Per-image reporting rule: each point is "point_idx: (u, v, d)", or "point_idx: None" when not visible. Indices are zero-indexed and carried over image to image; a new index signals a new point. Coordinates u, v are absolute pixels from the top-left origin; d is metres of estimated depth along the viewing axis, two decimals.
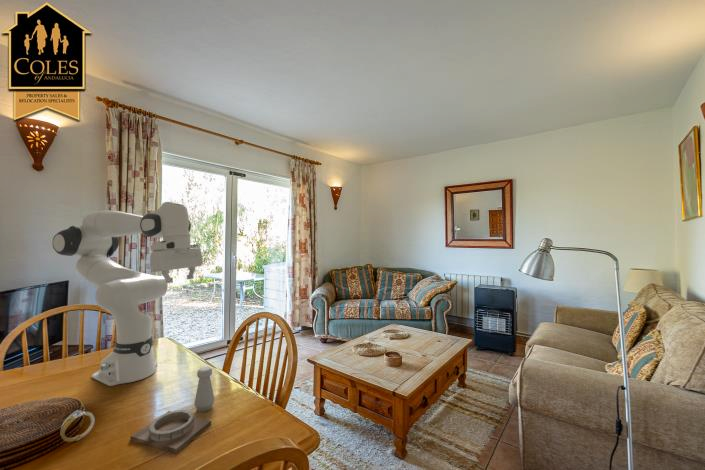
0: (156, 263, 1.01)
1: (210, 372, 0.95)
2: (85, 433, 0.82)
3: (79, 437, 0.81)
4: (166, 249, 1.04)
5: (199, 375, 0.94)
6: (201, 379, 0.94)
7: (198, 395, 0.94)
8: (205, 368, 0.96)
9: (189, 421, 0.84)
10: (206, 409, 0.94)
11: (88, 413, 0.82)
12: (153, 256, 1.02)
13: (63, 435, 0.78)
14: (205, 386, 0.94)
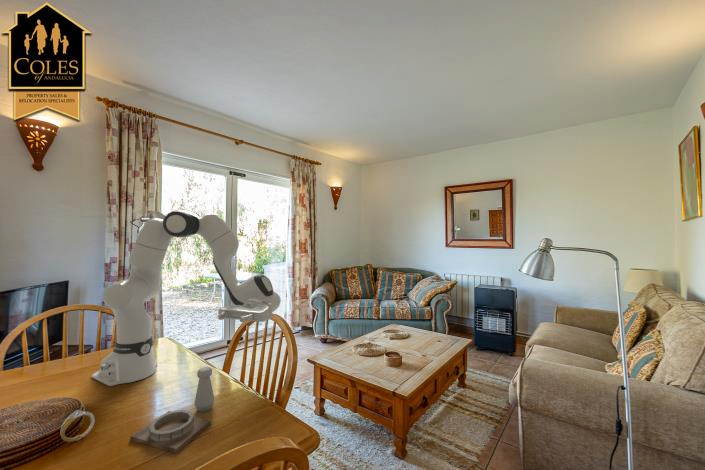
0: (265, 318, 1.11)
1: (210, 372, 0.95)
2: (85, 433, 0.82)
3: (79, 437, 0.81)
4: None
5: (199, 375, 0.94)
6: (201, 379, 0.94)
7: (198, 395, 0.94)
8: (205, 368, 0.96)
9: (189, 421, 0.84)
10: (206, 409, 0.94)
11: (88, 413, 0.82)
12: (269, 312, 1.14)
13: (63, 435, 0.78)
14: (205, 386, 0.94)
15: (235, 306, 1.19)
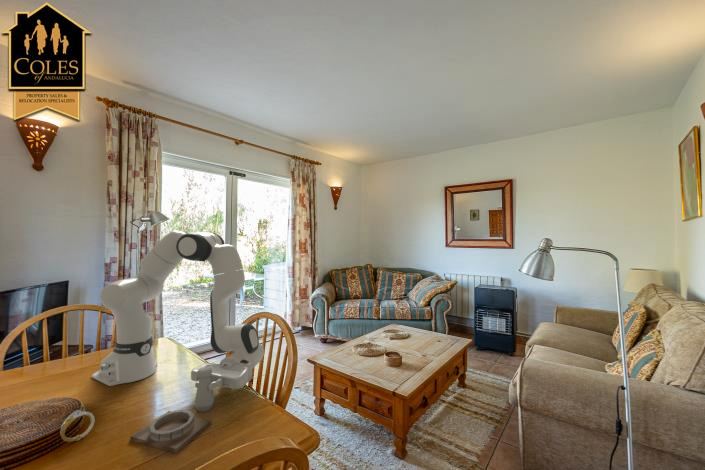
0: (243, 384, 0.99)
1: (210, 372, 0.95)
2: (85, 433, 0.82)
3: (79, 437, 0.81)
4: None
5: (199, 375, 0.94)
6: (201, 379, 0.94)
7: (198, 395, 0.94)
8: (205, 368, 0.96)
9: (189, 421, 0.84)
10: (206, 409, 0.94)
11: (88, 413, 0.82)
12: (247, 374, 1.02)
13: (63, 435, 0.78)
14: (205, 386, 0.94)
15: (211, 365, 1.06)
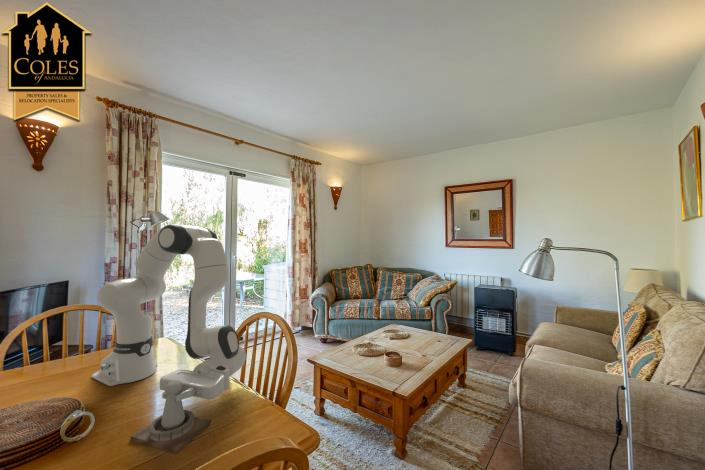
0: (218, 393, 0.88)
1: (179, 386, 0.84)
2: (85, 433, 0.82)
3: (79, 437, 0.81)
4: None
5: (166, 390, 0.82)
6: (169, 394, 0.83)
7: (165, 413, 0.82)
8: (174, 382, 0.84)
9: (189, 421, 0.84)
10: None
11: (88, 413, 0.82)
12: (223, 383, 0.90)
13: (63, 435, 0.78)
14: (174, 403, 0.83)
15: (183, 372, 0.95)
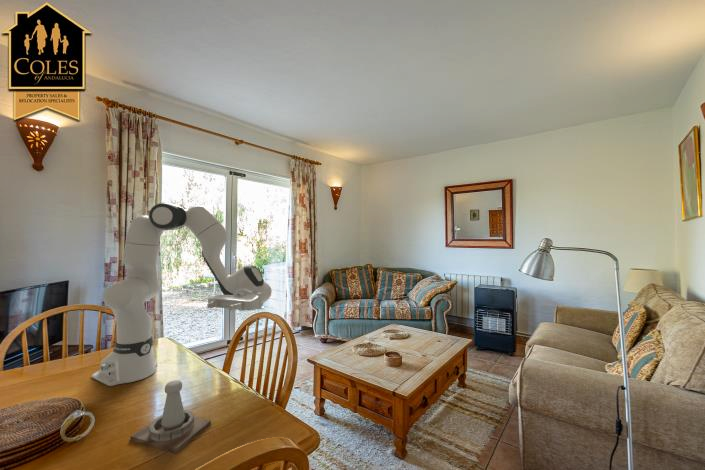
0: (255, 307, 1.12)
1: (180, 387, 0.84)
2: (85, 433, 0.82)
3: (79, 437, 0.81)
4: None
5: (167, 390, 0.82)
6: (169, 394, 0.83)
7: (165, 413, 0.82)
8: (174, 382, 0.84)
9: (189, 421, 0.84)
10: None
11: (88, 413, 0.82)
12: (258, 301, 1.14)
13: (63, 435, 0.78)
14: (174, 403, 0.83)
15: (225, 296, 1.19)
